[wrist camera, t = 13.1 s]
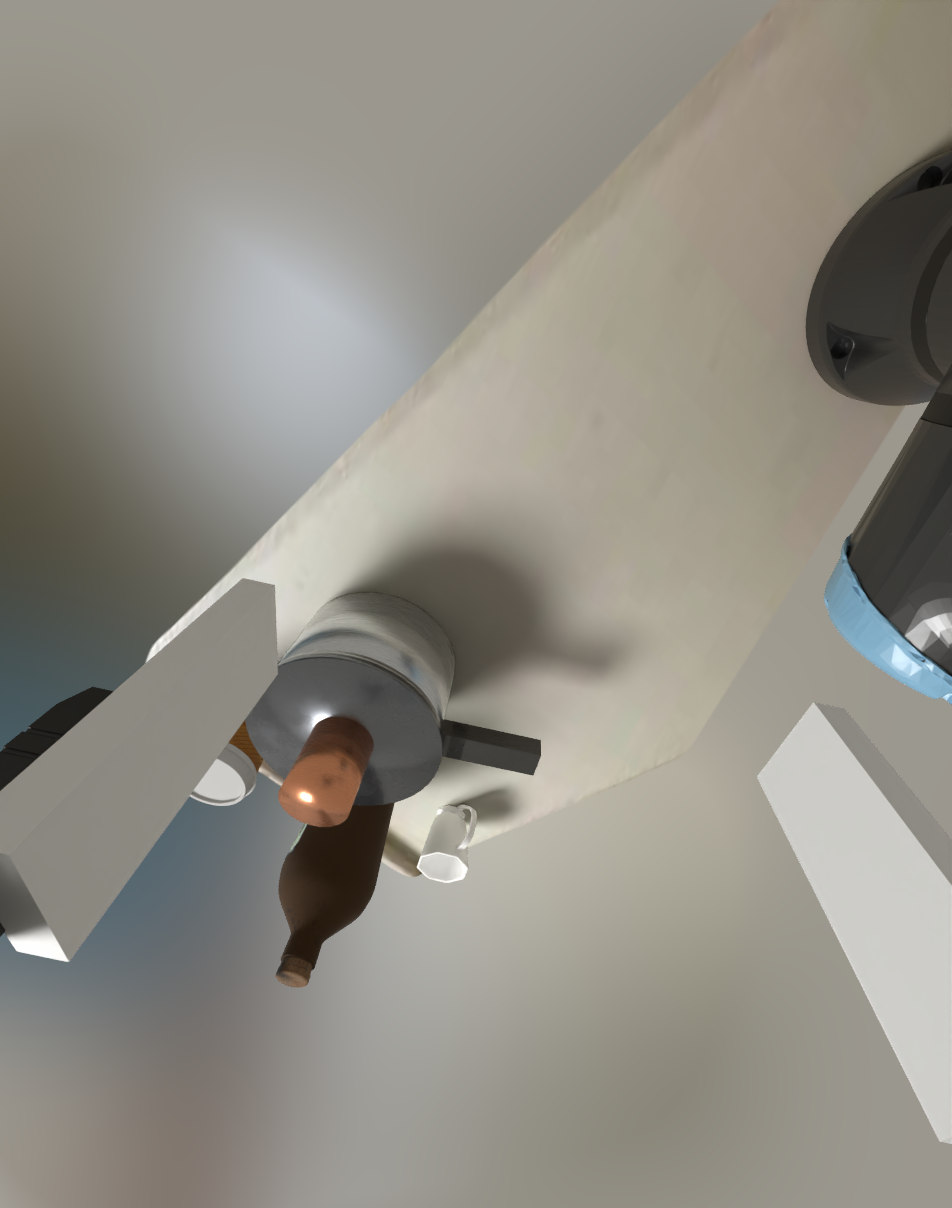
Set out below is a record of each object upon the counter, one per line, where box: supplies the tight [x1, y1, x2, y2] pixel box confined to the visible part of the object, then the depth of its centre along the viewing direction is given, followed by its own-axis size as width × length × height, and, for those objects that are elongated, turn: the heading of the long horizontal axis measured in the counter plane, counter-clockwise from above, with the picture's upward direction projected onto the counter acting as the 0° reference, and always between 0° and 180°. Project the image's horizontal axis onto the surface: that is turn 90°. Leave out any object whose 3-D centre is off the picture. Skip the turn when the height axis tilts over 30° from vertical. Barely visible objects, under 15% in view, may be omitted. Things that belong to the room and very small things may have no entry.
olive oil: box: [276, 802, 395, 987], centre depth 56 cm, size 11×11×25 cm
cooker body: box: [280, 592, 541, 775], centre depth 51 cm, size 28×19×12 cm, turn 79°
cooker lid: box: [245, 653, 443, 827], centre depth 43 cm, size 19×19×8 cm
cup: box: [417, 805, 477, 883], centre depth 66 cm, size 7×10×8 cm
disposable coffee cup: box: [190, 720, 263, 806], centre depth 57 cm, size 10×10×12 cm
